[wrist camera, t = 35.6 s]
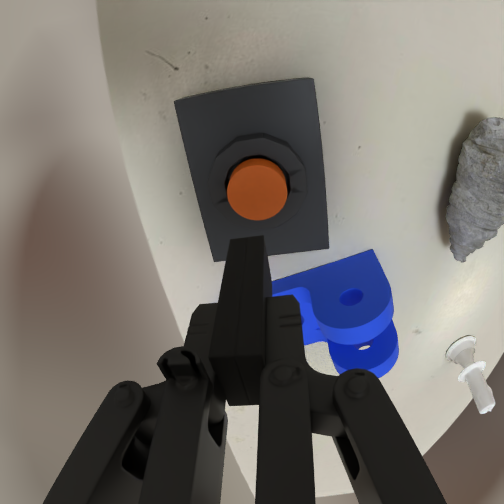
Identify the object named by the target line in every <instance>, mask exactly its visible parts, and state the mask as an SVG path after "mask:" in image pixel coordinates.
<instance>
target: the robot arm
mask: <svg viewBox="0 0 504 504" xmlns="http://www.w3.org/2000/svg"><path fill="white" fill-rule="evenodd" d="M189 325H190V326H189V327H188V331H187V335H186V339H185V343H184V347H183V346H182V347H176V348H173V349H171V350H169V351H167V352H165V353H164V354H163V355H162V356H161V357H160V359H159V360H158V362H157V365H158V367H159V368H160V370H161V372H162V373H163V375H164V377H165V378H166V381H164V382H161V383H159V384H155V385H151V386H148V387H144V388H141V386H140V385H139V384H138V383H136V382H134V381H124V382H120V383H118V384H117V385H115V386H114V387H113V388H112V389H111V390H110V391H109V393H108V394H107V396H106V397H105V399H104V401H103V402H102V404H101V405H100V407H99V409H98V410H97V412H96V413H95V415H94V417H93V418H92V420H91V421H90V423H89V425H88V426H87V428H86V430H85V432H84V433H83V435H82V436H81V438H80V440H79V441H78V443H77V445H76V446H75V448H74V450H73V451H72V453H71V455H70V456H69V459H68V460H67V462H66V463H65V465H64V467H63V468H62V470H61V472H60V474H59V476H58V477H57V479H56V481H55V483H54V484H53V486H52V488H51V489H50V491H49V493H48V495H47V497H46V499H45V500H44V502H43V504H220V499H221V488H222V477H223V467H224V455H225V445H226V435H227V424H228V418H227V414H226V412H225V403H226V400H227V402H228V404H229V406H242V405H259V424H258V450H257V474H256V496H255V504H315V482H314V463H313V446H312V433H316V434H321V435H327V436H332V438H333V440H334V443H335V445H336V448H337V450H338V453H339V455H340V458H341V460H342V463H343V465H344V467H345V470H346V472H347V475H348V477H349V480H350V482H351V485H352V487H353V490H354V492H355V494H356V497H357V499H358V502H359V504H447V503H446V501H445V499H444V497H443V495H442V493H441V491H440V489H439V488H438V486H437V484H436V482H435V480H434V478H433V476H432V474H431V472H430V470H429V468H428V466H427V465H426V463H425V461H424V459H423V457H422V455H421V453H420V451H419V450H418V448H417V446H416V444H415V442H414V440H413V439H412V437H411V435H410V433H409V431H408V430H407V428H406V426H405V424H404V422H403V421H402V419H401V417H400V415H399V413H398V412H397V410H396V408H395V406H394V405H393V403H392V401H391V399H390V398H389V396H388V394H387V392H386V391H385V389H384V387H383V385H382V384H381V382H380V380H379V379H378V378H377V376H376V375H375V374H374V373H372V372H370V371H368V370H366V369H359V368H355V369H350V370H347V371H345V372H343V373H341V374H340V375H339V376H333V375H326V374H322V373H319V372H317V371H315V370H314V369H312V368H311V367H310V366H309V364H308V363H307V361H306V358H305V350H304V340H303V331H302V321H301V312H300V303H299V302H298V301H297V299H296V298H295V297H294V295H293V294H292V295H283V296H274V297H272V281H271V274H270V268H269V262H268V256H267V250H266V244H265V238H264V235H260V236H252V237H244V238H236V239H230V243H229V248H228V253H227V258H226V263H225V268H224V273H223V279H222V284H221V289H220V295H219V300H218V303H210V304H199V306H198V307H197V308H196V310H195V311H194V312H193V313H192V316H191V320H190V324H189Z"/></svg>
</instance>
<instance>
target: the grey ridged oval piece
mask: <svg viewBox="0 0 504 504" xmlns="http://www.w3.org/2000/svg"><path fill="white" fill-rule="evenodd" d="M462 146H463V148H462V150H461V154H460V155H459V160H458V161H459V165H458V168H457V173H456V176H457V177H456V178H457V181H456V182H455V183H454V184H453V187H452V189H451V190H452V194H451V195H450V198H449V203H450V205H449V206H448V207H447V214H446V220H447V222H448V225H449V227H450V228H449V234H450V236H451V237H450V242H451V246H450V250H451V251H452V253H453V254H454V258H455V259H456V260H457V261H461V262H465V261H466V256H468V255H469V254H470V253H473V252H474V251H475V250H476V249H480V248H482V247H483V244H484V242H485V241H488V240H490V239H491V238H494V237H495V236H496V235H497V229H499V228H500V226H501V225H503V224H504V119H503V118H497V117H493V118H487V119H484V120H482V121H480V122H479V125H477V126H476V127H475V128H474V129H472V131H471V133H470V135H469V137H468V138H467V139H466V140H465V141H464V142H463V144H462Z"/></svg>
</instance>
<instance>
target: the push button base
mask: <svg viewBox="0 0 504 504" xmlns="http://www.w3.org/2000/svg"><path fill="white" fill-rule="evenodd" d="M174 104H175V109H176V113H177V118H178V122H179V126H180V131H181V135H182V139H183V143H184V147H185V152H186V156H187V160H188V164H189V168H190V172H191V176H192V180H193V184H194V188H195V192H196V196H197V200H198V204H199V208H200V211H201V215H202V219H203V223H204V227H205V230H206V234H207V238H208V242H209V245H210V249H211V253H212V256H213V260H214V262H218V261H226V258H227V253H228V248H229V243H230V239H236V238H244V237H252V236H260V235H264V238H265V244H266V250H267V256H270V255H279V254H287V253H296V252H304V251H313V250H321V249H329V236H328V218H327V202H326V188H325V175H324V164H323V153H322V143H321V133H320V124H319V116H318V107H317V99H316V92H315V85H314V79H313V78H297V79H288V80H279V81H271V82H264V83H257V84H250V85H244V86H238V87H232V88H227V89H221V90H216V91H211V92H206V93H202V94H197V95H192V96H188V97H184V98H181V99H178V100H176V101H174ZM253 158H262V159H266V160H269V161H271V162H273V163H275V164H276V165H277V166H278V167H279V168H280V169H281V170H282V172H283V174H284V176H285V180H286V186H287V199H286V202H285V205H284V206H283V208H282V209H281V210H280V211H279V212H278V213H277V214H276V215H274V216H273V217H271V218H268V219H265V220H250V219H247V218H244V217H242V216H241V215H239V214H238V213H237V212H235V211H234V209H233V208H232V207H231V205H230V203H229V201H228V197H227V187H228V184H229V180H230V177H231V175H232V172H233V171H234V169H235V168H236V167H237V166H238V165H239V164H240V163H242V162H244V161H246V160H249V159H253Z"/></svg>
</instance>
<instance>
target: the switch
mask: <svg viewBox="0 0 504 504" xmlns="http://www.w3.org/2000/svg"><path fill="white" fill-rule="evenodd" d="M227 197H228V201H229V203H230V205H231V207H232V208H233V209H234V211H235V212H237V213H238V214H239V215H241V216H242V217H244V218H247V219H250V220H265V219H268V218H271V217H273V216H274V215H276V214H277V213H278V212H279V211H280V210H281V209H282V208H283V206H284V205H285V202H286V199H287V186H286V180H285V176H284V174H283V172H282V170H281V169H280V168H279V167H278V166H277V165H276V164H275V163H273V162H271V161H269V160H266V159H262V158H253V159H249V160H246V161H244V162H242V163H240V164H239V165H238V166H237V167H236V168H235V169H234V171H233V172H232V175H231V177H230V180H229V184H228V187H227Z"/></svg>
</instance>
